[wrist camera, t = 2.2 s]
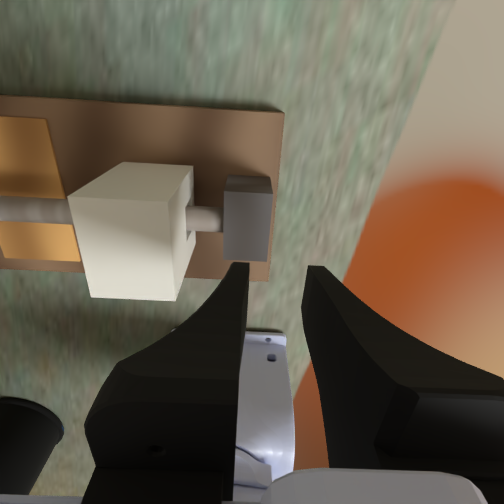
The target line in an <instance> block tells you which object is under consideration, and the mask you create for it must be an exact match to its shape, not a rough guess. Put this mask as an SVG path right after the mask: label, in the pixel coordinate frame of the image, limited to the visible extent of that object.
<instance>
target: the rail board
mask: <svg viewBox="0 0 504 504" xmlns="http://www.w3.org/2000/svg"><path fill="white" fill-rule="evenodd" d="M284 117H285V113H284V112H274V111H258V110H242V109H226V108H210V107H194V106H178V105H162V104H146V103H129V102H113V101H97V100H81V99H65V98H49V97H33V96H17V95H1V94H0V269H17V270H38V271H58V272H79V273H85V269H84V265H83V261H82V257H81V253H80V248H79V244H78V240H77V236H76V232H75V227H74V223H73V219H72V215H71V211H70V206H69V202H68V198H67V196H69V195H70V194H72V193H74V192H75V191H77V190H78V189H80V188H82V187H83V186H85V185H86V184H88V183H90V182H91V181H93V180H94V179H96V178H98V177H99V176H101V175H102V174H104V173H106V172H107V171H109V170H110V169H112V168H114V167H115V166H117V165H118V164H120V163H122V162H136V163H153V164H171V165H188V166H193V177H194V206H186V207H185V216H186V231H195V236H196V244H195V247H194V250H193V252H192V255H191V258H190V261H189V264H188V267H187V270H186V272H185V275H184V278H204V279H223V278H224V276H225V275H226V273H227V271H228V269H229V267H230V265H231V264H232V263H233V262H250V274H249V281H266V282H268V279H269V269H270V259H271V249H272V239H273V228H274V218H275V208H276V198H277V188H278V178H279V167H280V157H281V147H282V137H283V127H284Z"/></svg>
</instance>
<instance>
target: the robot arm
mask: <svg viewBox="0 0 504 504" xmlns="http://www.w3.org/2000/svg"><path fill="white" fill-rule="evenodd" d="M249 274H250V262H233V263H232V264H231V265H230V267H229V269H228V271H227V273H226V275H225V276H224V278H223V279H222V281H221V282H220V284H219V285H218V286H217V288H216V289H215V291H214V292H213V293H212V294H211V295H210V297H209V298H208V299H207V300H206V301H205V302H204V303H203V305H202V306H201V307H200V308H199V309H198V310H197V311H196V312H195V313H194V314H192V315H191V316H190V317H189V318H188V319H187V320H186V321H184V322H183V323H182V324H181V325H180V326H178V327H177V328H175V329H172V330H171V333H169V334H168V335H166V336H165V337H163V338H162V339H160V340H159V341H157V342H155V343H154V344H152V345H150V346H149V347H147V348H145V349H143V350H141V351H139V352H137V353H135V354H133V355H132V356H130V357H128V358H126V359H124V360H122V361H119V362H118V363H117V364H116V365H115V367H114V368H113V370H112V372H111V373H110V375H109V376H108V377H107V379H106V381H105V382H104V384H103V385H102V387H101V389H100V391H99V393H98V395H97V397H96V399H95V401H94V403H93V405H92V407H91V409H90V411H89V413H88V415H87V418H86V421H85V423H84V428H85V435H86V438H87V441H88V444H89V447H90V450H91V453H92V456H93V459H94V462H95V465H96V467H95V470H94V472H93V474H92V477H91V479H90V482H89V484H88V487H87V489H86V492H85V494H84V497H75V496H41V495H8V494H0V504H504V380H503V378H501V377H499V376H497V375H494V374H492V373H489V372H487V371H484V370H482V369H480V368H477V367H475V366H472V365H470V364H467V363H465V362H462V361H460V360H458V359H456V358H454V357H452V356H450V355H447V354H445V353H443V352H441V351H439V350H437V349H435V348H433V347H431V346H429V345H427V344H425V343H424V342H422V341H420V340H418V339H417V338H415V337H413V336H411V335H410V334H408V333H406V332H404V331H403V330H401V329H400V328H398V327H396V326H395V325H393V324H392V323H390V322H389V321H387V320H386V319H385V318H383V317H382V316H380V315H379V314H378V313H376V312H375V311H373V310H372V309H371V308H370V307H368V306H367V305H366V304H365V303H364V302H362V301H361V300H360V299H359V298H357V297H356V296H355V295H354V294H353V293H352V292H351V291H350V290H349V289H348V288H346V287H345V286H344V285H343V284H342V283H341V282H340V281H339V280H338V279H337V278H336V277H335V276H334V275H333V274H332V273H331V272H330V271H329V270H328V269H326V268H325V267H324V266H310V265H308V269H307V275H306V281H305V287H304V293H303V299H302V305H301V311H302V320H303V328H304V333H305V337H306V341H307V345H308V349H309V352H310V356H311V360H312V364H313V368H314V372H315V375H316V379H317V384H318V388H319V394H320V400H321V407H322V414H323V421H324V428H325V436H326V443H327V451H328V459H329V468H314V469H305V470H296V471H293V464H294V453H295V452H294V451H295V432H294V431H295V428H294V412H293V402H292V394H291V386H290V378H289V370H288V362H287V353H286V336H285V334H283V333H271V332H248V331H246V322H247V306H248V290H249ZM266 338H270V339H266ZM272 481H273V482H272Z"/></svg>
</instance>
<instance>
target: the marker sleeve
mask: <svg viewBox="0 0 504 504" xmlns="http://www.w3.org/2000/svg"><path fill="white" fill-rule="evenodd" d="M67 198H68V202H69V206H70V211H71V215H72V219H73V223H74V227H75V232H76V236H77V240H78V244H79V248H80V253H81V257H82V261H83V265H84V269H85V274H86V278H87V282H88V286H89V290H90V295H91V297H95V298H117V299H139V300H160V301H176V298H177V295H178V292H179V290H180V287H181V284H182V281H183V278H184V275H185V272H186V270H187V267H188V264H189V261H190V258H191V255H192V252H193V250H194V247H195V244H196V236H195V231H186V216H185V207H186V206H194V177H193V166H188V165H171V164H153V163H136V162H122V163H120V164H118V165H117V166H115V167H114V168H112V169H110V170H109V171H107V172H106V173H104V174H102V175H101V176H99V177H98V178H96V179H94V180H93V181H91V182H90V183H88V184H86V185H85V186H83V187H82V188H80V189H78V190H77V191H75V192H74V193H72V194H70V195H69V196H67Z"/></svg>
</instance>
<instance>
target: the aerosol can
mask: <svg viewBox="0 0 504 504" xmlns="http://www.w3.org/2000/svg"><path fill="white" fill-rule="evenodd" d="M63 435H64V428H63V425H62V423H61V421H60V420H59V418H58V417H57V416H56V415H55V414H53V413H52V412H51V411H50V410H48V409H46V408H44V407H43V406H41V405H38V404H36V403H33V402H30V401H27V400H22V399H15V398H1V399H0V494H8V495H29V493H30V491H31V489H32V487H33V486H34V484H35V482H36V480H37V478H38V476H39V474H40V473H41V471H42V469H43V467H44V465H45V463H46V462H47V460H48V458H49V456H50V454H51V452H52V450H53V449H54V447H55V445H56V444H58V443H59V442H60V440H61V439H62V437H63Z"/></svg>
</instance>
